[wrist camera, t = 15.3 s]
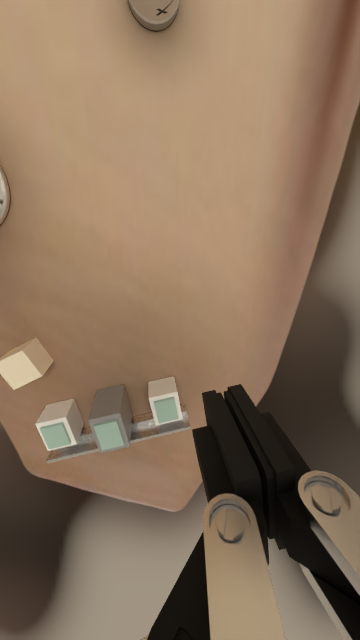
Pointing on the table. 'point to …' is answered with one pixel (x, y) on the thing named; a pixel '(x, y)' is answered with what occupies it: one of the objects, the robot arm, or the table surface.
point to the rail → (140, 431)
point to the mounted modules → (66, 422)
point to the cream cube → (25, 363)
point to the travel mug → (154, 12)
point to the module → (111, 419)
